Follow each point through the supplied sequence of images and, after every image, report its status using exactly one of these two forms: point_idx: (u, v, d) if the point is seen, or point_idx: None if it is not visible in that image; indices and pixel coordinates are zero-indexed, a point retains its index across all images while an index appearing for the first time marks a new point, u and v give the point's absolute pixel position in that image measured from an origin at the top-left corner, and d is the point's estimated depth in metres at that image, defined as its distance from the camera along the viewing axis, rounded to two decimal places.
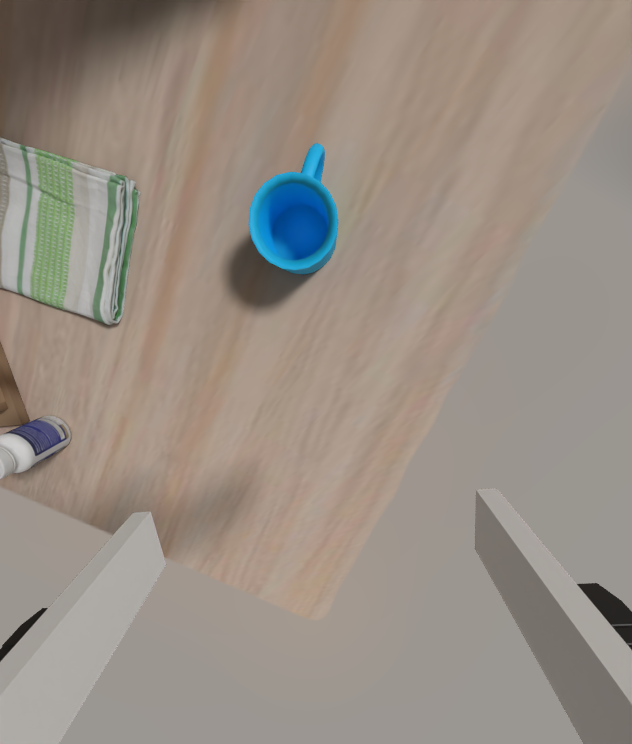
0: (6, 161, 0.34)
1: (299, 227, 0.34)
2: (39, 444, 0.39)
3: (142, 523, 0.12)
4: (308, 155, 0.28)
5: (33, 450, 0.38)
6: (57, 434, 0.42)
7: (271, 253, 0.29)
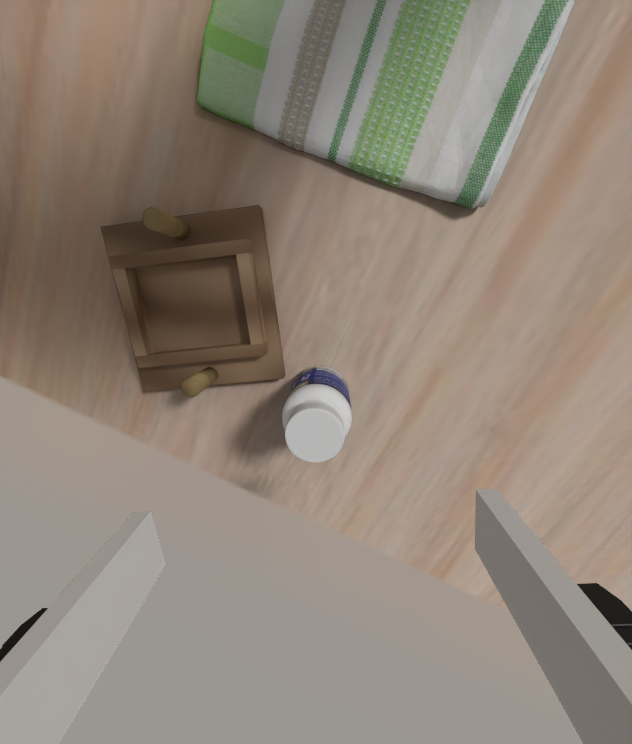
0: None
1: None
2: None
3: (142, 523, 0.12)
4: None
5: (351, 413, 0.23)
6: (348, 392, 0.26)
7: None
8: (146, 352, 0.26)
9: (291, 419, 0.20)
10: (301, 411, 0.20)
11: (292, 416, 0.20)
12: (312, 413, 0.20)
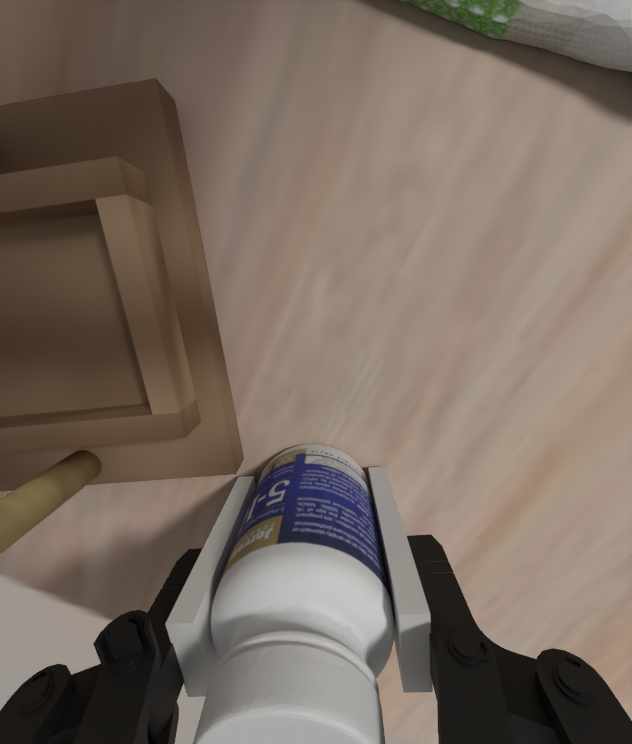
0: None
1: None
2: (385, 570, 0.10)
3: (250, 485, 0.14)
4: None
5: (392, 610, 0.09)
6: (374, 511, 0.12)
7: None
8: None
9: (207, 733, 0.06)
10: (240, 715, 0.06)
11: (211, 719, 0.06)
12: (278, 724, 0.06)
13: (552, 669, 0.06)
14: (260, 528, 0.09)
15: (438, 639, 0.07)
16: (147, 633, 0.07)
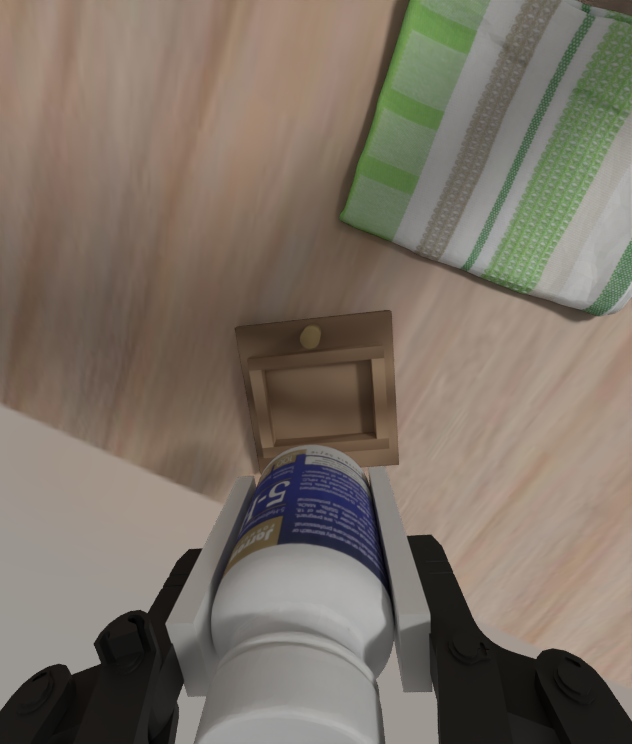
0: (542, 35, 0.20)
1: None
2: (385, 570, 0.10)
3: (251, 485, 0.14)
4: None
5: (392, 611, 0.09)
6: (374, 512, 0.12)
7: None
8: (273, 444, 0.27)
9: (208, 734, 0.06)
10: (241, 716, 0.06)
11: (212, 720, 0.06)
12: (278, 725, 0.06)
13: (552, 669, 0.06)
14: (260, 529, 0.09)
15: (438, 639, 0.07)
16: (147, 633, 0.07)
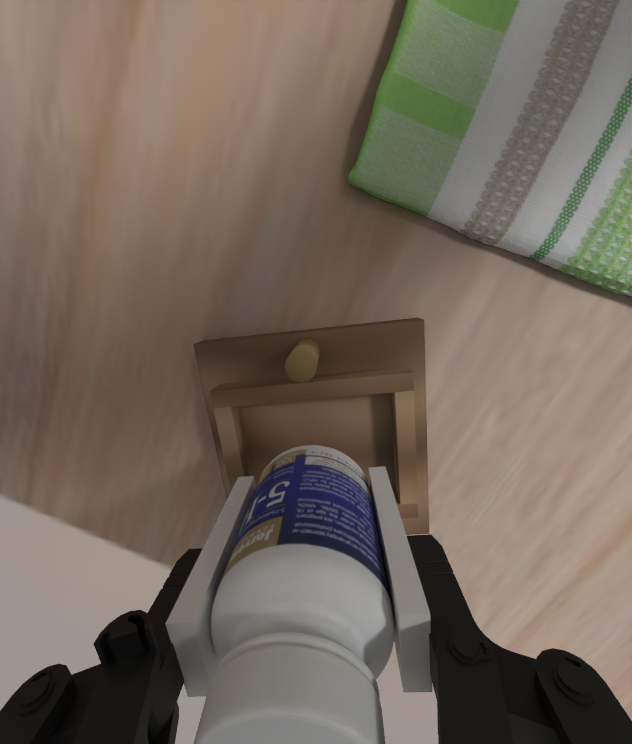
0: None
1: None
2: (385, 571, 0.10)
3: (251, 485, 0.14)
4: None
5: (392, 611, 0.09)
6: (374, 512, 0.12)
7: None
8: None
9: (207, 735, 0.06)
10: (241, 716, 0.06)
11: (212, 721, 0.06)
12: (278, 726, 0.06)
13: (552, 669, 0.06)
14: (260, 529, 0.09)
15: (438, 639, 0.07)
16: (147, 633, 0.07)
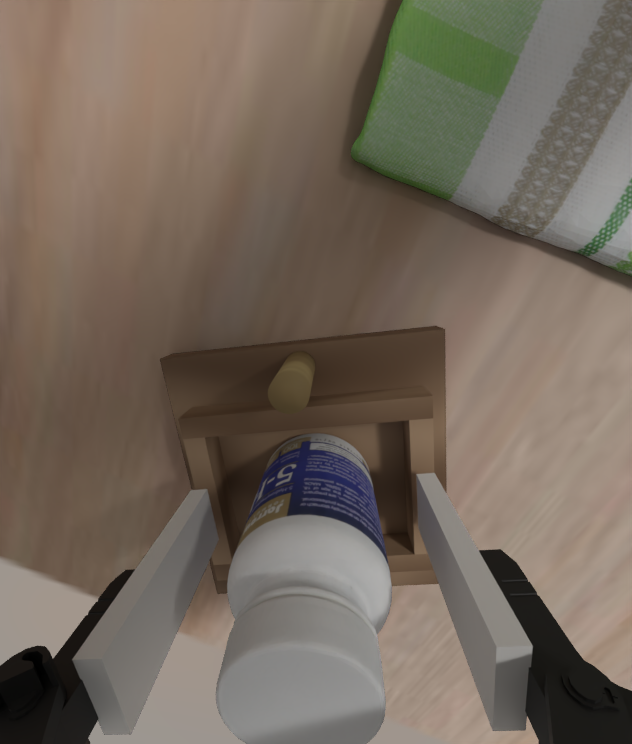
0: None
1: None
2: None
3: (201, 499, 0.13)
4: None
5: (390, 577, 0.10)
6: (373, 494, 0.13)
7: None
8: None
9: (231, 667, 0.07)
10: (260, 649, 0.07)
11: (235, 656, 0.07)
12: (292, 657, 0.07)
13: None
14: (271, 504, 0.10)
15: (548, 671, 0.06)
16: (46, 667, 0.07)
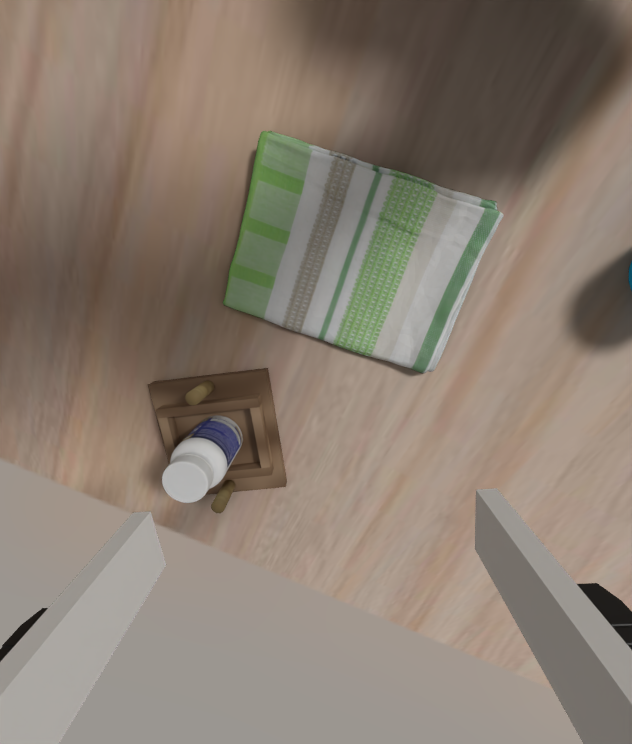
0: (349, 184, 0.28)
1: None
2: (229, 451, 0.30)
3: (142, 523, 0.12)
4: None
5: (226, 459, 0.29)
6: (236, 438, 0.32)
7: None
8: None
9: (165, 470, 0.26)
10: (172, 463, 0.26)
11: None
12: (180, 465, 0.26)
13: None
14: (186, 437, 0.29)
15: None
16: None
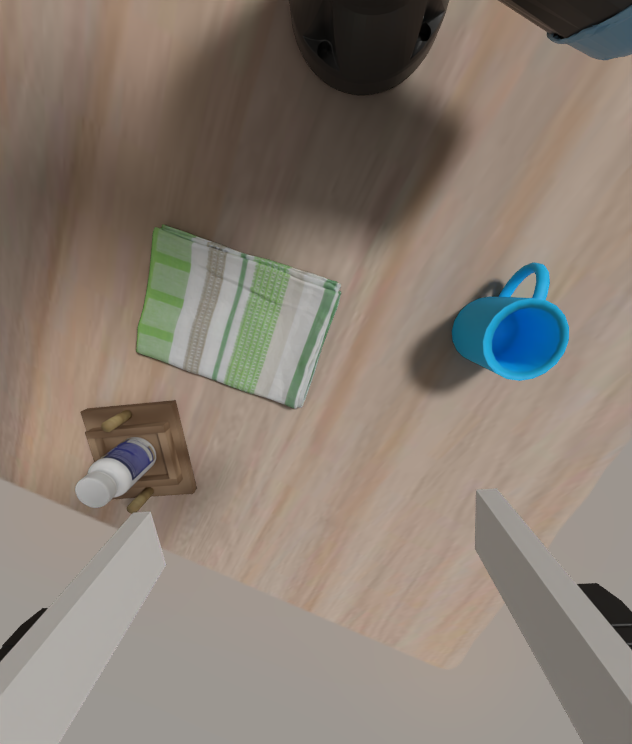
0: (224, 266, 0.36)
1: None
2: (135, 467, 0.39)
3: (142, 523, 0.12)
4: (541, 279, 0.30)
5: (131, 474, 0.38)
6: (147, 456, 0.41)
7: (499, 366, 0.31)
8: None
9: (77, 483, 0.35)
10: (82, 479, 0.35)
11: (78, 482, 0.35)
12: (88, 480, 0.35)
13: None
14: (102, 456, 0.38)
15: None
16: None
